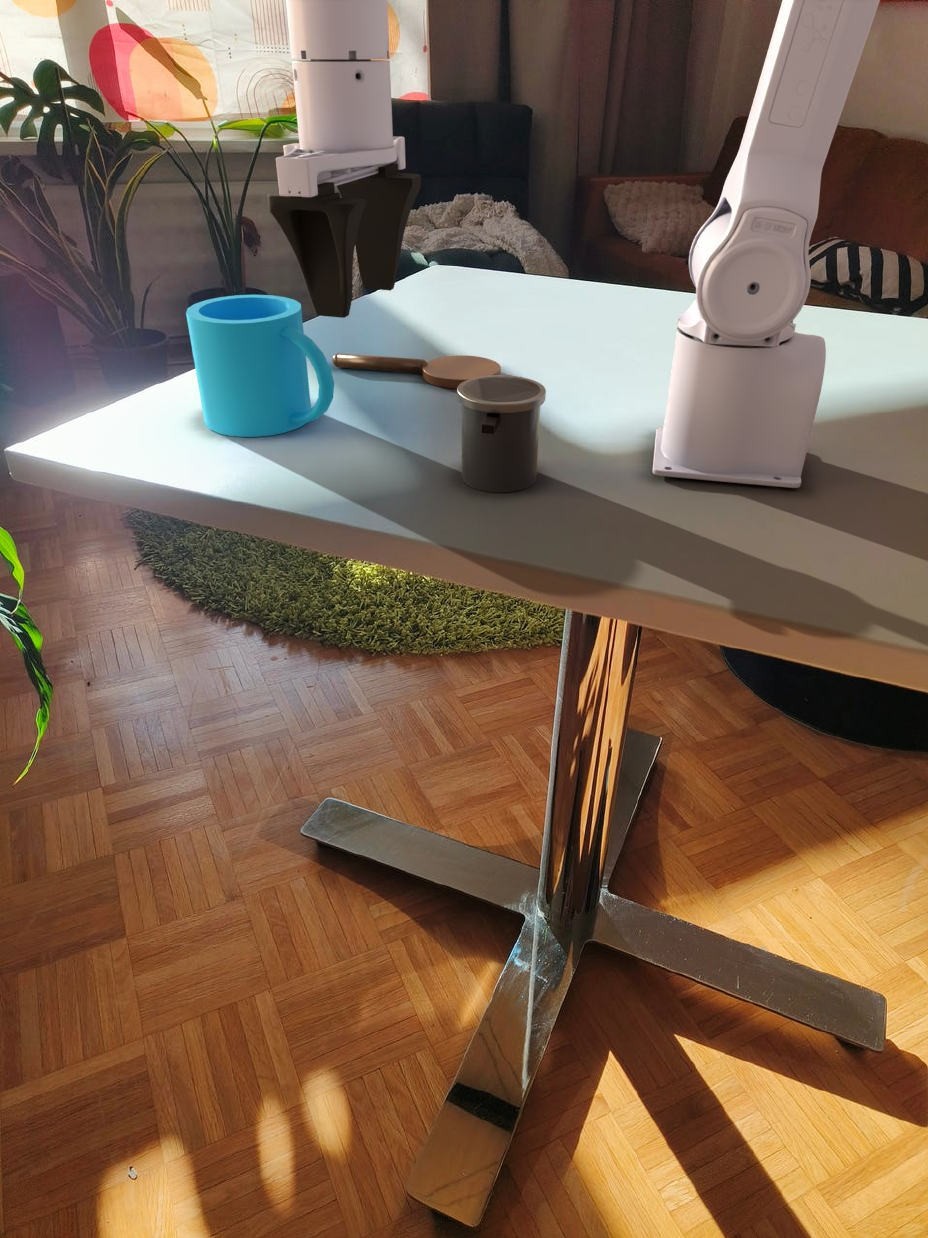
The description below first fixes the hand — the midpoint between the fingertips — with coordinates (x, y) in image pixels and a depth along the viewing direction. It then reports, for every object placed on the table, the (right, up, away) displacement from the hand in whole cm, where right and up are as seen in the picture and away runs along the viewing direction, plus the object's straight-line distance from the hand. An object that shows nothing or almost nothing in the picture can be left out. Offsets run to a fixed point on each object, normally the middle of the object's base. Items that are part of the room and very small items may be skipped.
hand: (356, 301), depth 58 cm
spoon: (+3, 0, +18) cm, 18 cm away
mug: (-7, -7, +8) cm, 12 cm away
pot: (+10, -12, 0) cm, 15 cm away
